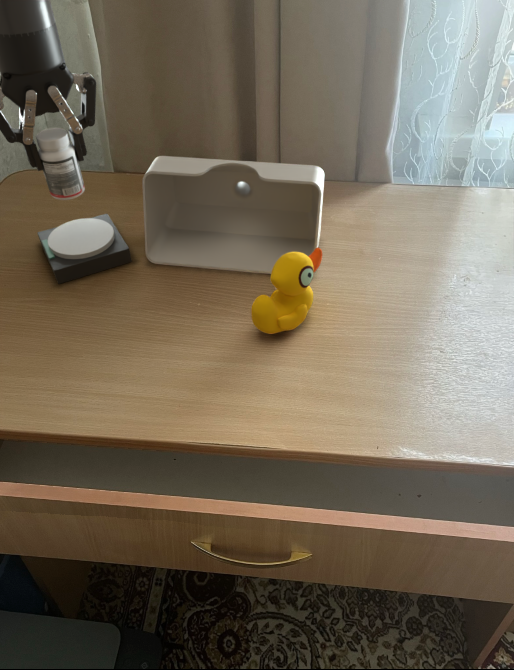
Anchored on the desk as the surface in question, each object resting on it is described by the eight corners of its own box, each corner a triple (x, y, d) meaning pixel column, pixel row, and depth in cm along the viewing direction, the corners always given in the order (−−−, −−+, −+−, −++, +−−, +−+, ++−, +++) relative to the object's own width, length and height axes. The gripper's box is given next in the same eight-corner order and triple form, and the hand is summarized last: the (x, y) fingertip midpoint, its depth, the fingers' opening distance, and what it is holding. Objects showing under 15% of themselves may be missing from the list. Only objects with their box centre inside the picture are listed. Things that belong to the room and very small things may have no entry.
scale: (58, 284, 79) (52, 266, 77) (41, 245, 86) (35, 227, 84) (132, 261, 82) (128, 243, 80) (110, 226, 89) (106, 208, 87)
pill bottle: (58, 183, 79) (41, 125, 73) (90, 184, 78) (75, 126, 72) (44, 200, 75) (26, 141, 70) (78, 202, 75) (61, 142, 69)
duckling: (302, 292, 77) (305, 230, 70) (331, 310, 74) (337, 248, 67) (241, 331, 71) (238, 269, 64) (270, 353, 68) (270, 290, 61)
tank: (323, 217, 90) (328, 144, 81) (314, 277, 79) (319, 199, 70) (175, 206, 93) (165, 134, 85) (145, 262, 82) (131, 186, 73)
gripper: (-44, 40, 57) (10, 189, 69) (91, 19, 62) (120, 162, 74) (-52, 22, 62) (-1, 164, 74) (74, 4, 67) (104, 141, 79)
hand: (60, 162), depth 74 cm, fingers closed on pill bottle, 4 cm apart
